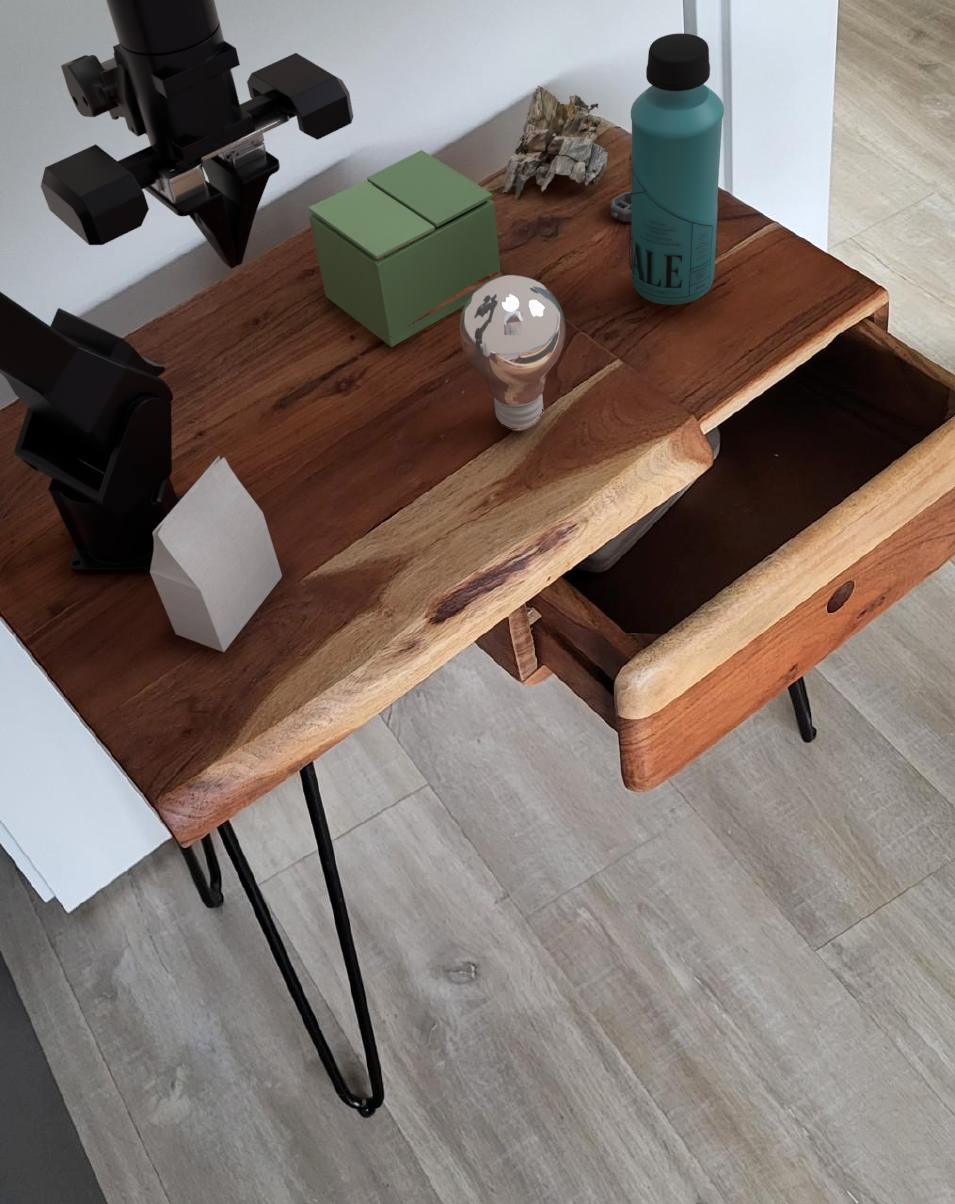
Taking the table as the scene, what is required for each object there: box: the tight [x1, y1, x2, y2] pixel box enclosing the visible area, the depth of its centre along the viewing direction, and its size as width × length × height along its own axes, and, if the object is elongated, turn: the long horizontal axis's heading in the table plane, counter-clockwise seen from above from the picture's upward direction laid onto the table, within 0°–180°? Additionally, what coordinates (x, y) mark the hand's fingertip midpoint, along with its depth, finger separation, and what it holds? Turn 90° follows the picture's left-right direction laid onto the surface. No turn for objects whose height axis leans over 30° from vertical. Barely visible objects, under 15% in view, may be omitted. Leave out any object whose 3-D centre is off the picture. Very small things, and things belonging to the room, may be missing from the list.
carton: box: [308, 149, 502, 348], centre depth 101 cm, size 11×9×8 cm
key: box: [610, 191, 631, 223], centre depth 109 cm, size 12×1×3 cm
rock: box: [502, 85, 609, 200], centre depth 112 cm, size 8×15×4 cm, turn 165°
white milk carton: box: [149, 455, 283, 653], centre depth 80 cm, size 4×7×10 cm, turn 153°
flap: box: [307, 179, 435, 259], centre depth 97 cm, size 5×9×1 cm, turn 39°
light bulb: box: [458, 273, 567, 432], centre depth 88 cm, size 7×7×12 cm
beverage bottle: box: [628, 32, 725, 306], centre depth 93 cm, size 6×7×20 cm
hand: (233, 263), depth 86 cm, fingers closed
